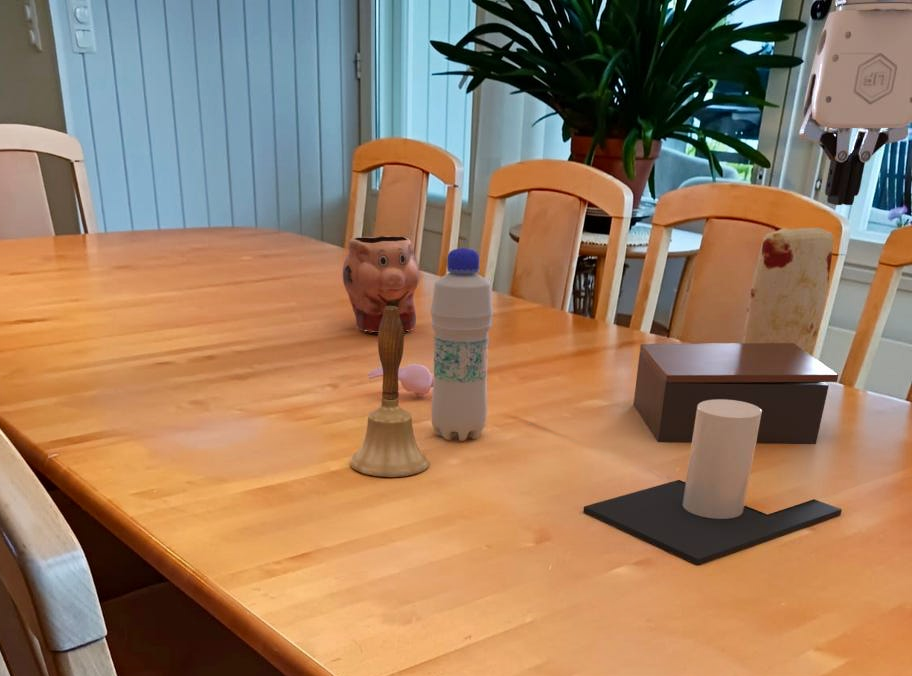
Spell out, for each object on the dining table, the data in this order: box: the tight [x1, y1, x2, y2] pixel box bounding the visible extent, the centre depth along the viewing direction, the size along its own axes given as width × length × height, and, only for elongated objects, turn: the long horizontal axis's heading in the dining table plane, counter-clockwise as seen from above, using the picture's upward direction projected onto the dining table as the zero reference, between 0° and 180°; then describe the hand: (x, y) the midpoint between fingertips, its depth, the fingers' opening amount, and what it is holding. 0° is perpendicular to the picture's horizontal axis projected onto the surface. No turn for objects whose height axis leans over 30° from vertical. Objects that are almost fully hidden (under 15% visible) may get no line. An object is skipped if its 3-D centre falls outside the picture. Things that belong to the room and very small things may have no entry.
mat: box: [583, 479, 843, 566], centre depth 91 cm, size 20×14×1 cm
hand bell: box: [349, 306, 430, 478], centre depth 98 cm, size 8×8×16 cm
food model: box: [741, 227, 834, 356], centre depth 126 cm, size 10×7×20 cm
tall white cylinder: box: [682, 399, 762, 519], centre depth 89 cm, size 6×6×10 cm
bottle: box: [430, 247, 494, 442], centre depth 106 cm, size 7×7×20 cm
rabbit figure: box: [366, 363, 434, 398], centre depth 123 cm, size 6×6×15 cm
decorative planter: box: [342, 235, 421, 332], centre depth 156 cm, size 20×12×14 cm, turn 22°
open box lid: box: [639, 342, 839, 383], centre depth 110 cm, size 18×15×1 cm
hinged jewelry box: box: [633, 350, 830, 445], centre depth 112 cm, size 18×15×7 cm
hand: (839, 203), depth 102 cm, fingers closed
